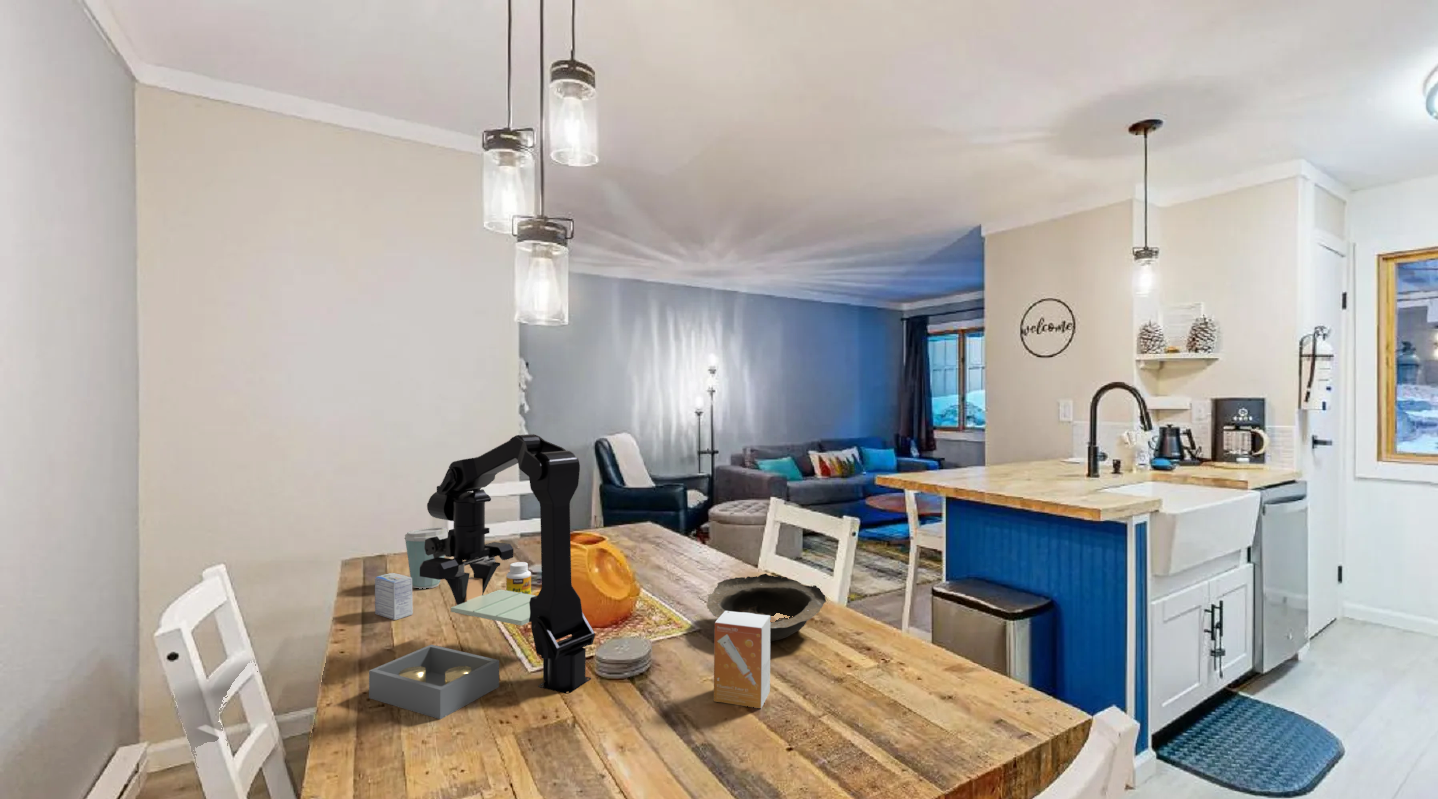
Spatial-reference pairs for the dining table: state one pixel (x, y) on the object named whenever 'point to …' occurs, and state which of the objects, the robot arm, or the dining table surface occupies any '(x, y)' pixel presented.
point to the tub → (434, 681)
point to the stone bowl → (768, 601)
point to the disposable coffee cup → (421, 554)
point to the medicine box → (393, 596)
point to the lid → (494, 604)
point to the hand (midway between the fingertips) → (469, 603)
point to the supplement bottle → (519, 578)
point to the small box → (742, 658)
